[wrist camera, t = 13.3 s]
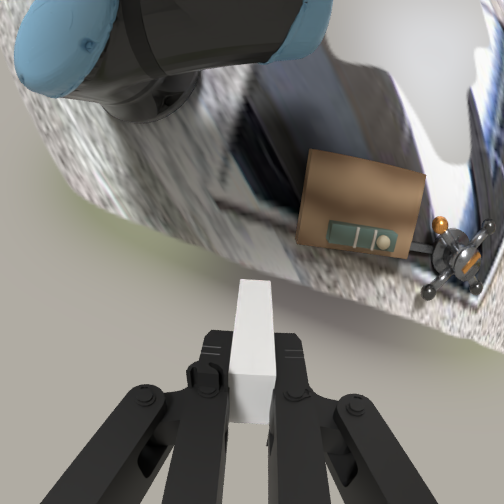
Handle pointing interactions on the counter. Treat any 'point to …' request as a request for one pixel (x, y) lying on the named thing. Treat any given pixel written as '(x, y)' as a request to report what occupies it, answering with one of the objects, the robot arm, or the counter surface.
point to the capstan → (458, 258)
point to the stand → (358, 205)
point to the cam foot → (439, 248)
